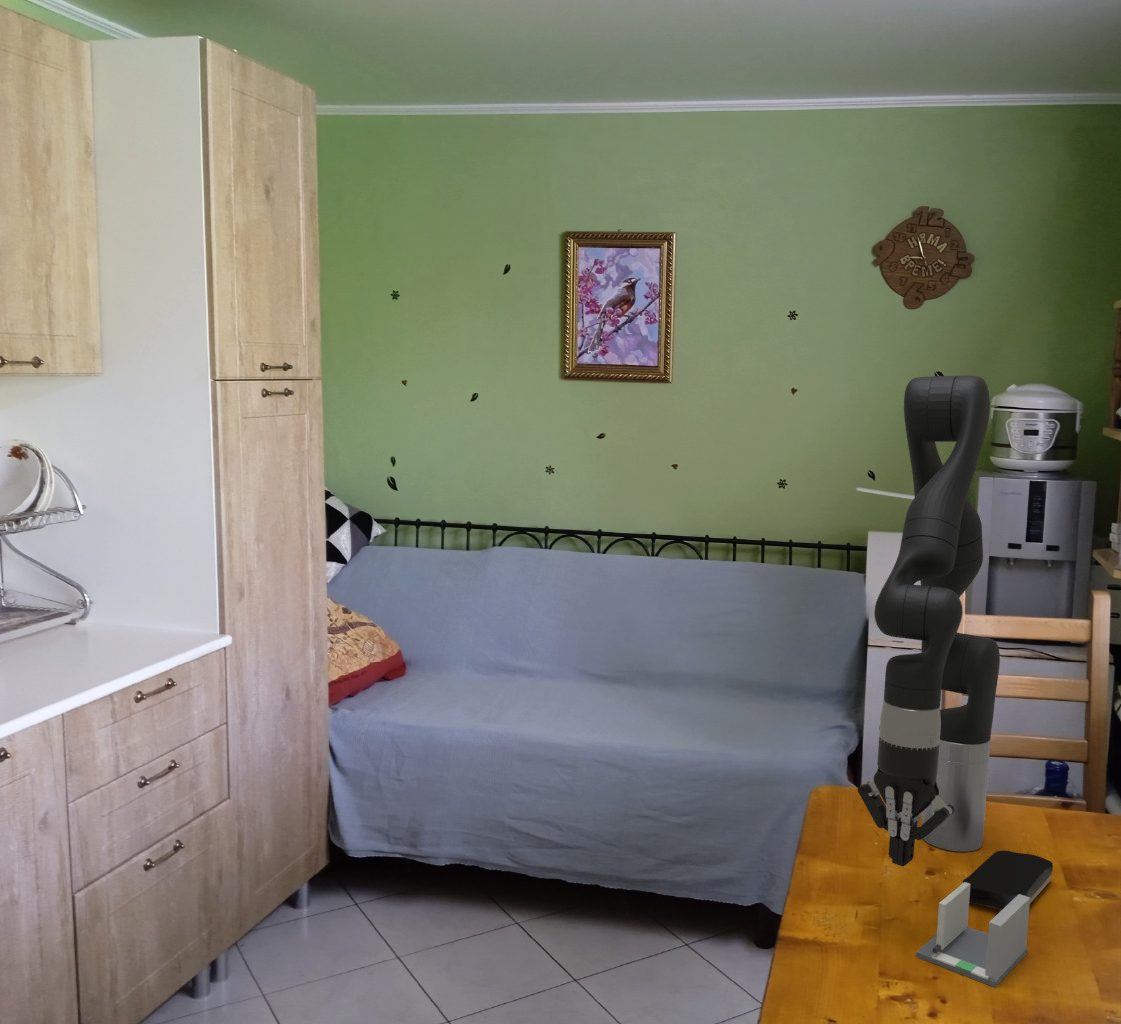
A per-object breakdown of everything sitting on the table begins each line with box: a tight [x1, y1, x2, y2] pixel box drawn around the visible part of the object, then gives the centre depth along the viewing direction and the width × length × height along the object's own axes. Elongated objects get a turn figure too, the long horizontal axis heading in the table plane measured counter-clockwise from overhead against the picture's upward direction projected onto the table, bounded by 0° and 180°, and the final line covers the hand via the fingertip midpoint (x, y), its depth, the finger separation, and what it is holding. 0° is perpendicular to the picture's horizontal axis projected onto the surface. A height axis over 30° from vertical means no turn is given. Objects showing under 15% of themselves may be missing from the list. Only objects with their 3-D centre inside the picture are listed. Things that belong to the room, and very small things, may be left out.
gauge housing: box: [915, 894, 1031, 988], centre depth 139 cm, size 11×10×8 cm
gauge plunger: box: [933, 882, 970, 954], centre depth 141 cm, size 9×1×6 cm, turn 138°
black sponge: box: [962, 850, 1054, 911], centre depth 157 cm, size 16×8×4 cm, turn 140°
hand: (900, 863), depth 145 cm, fingers closed
